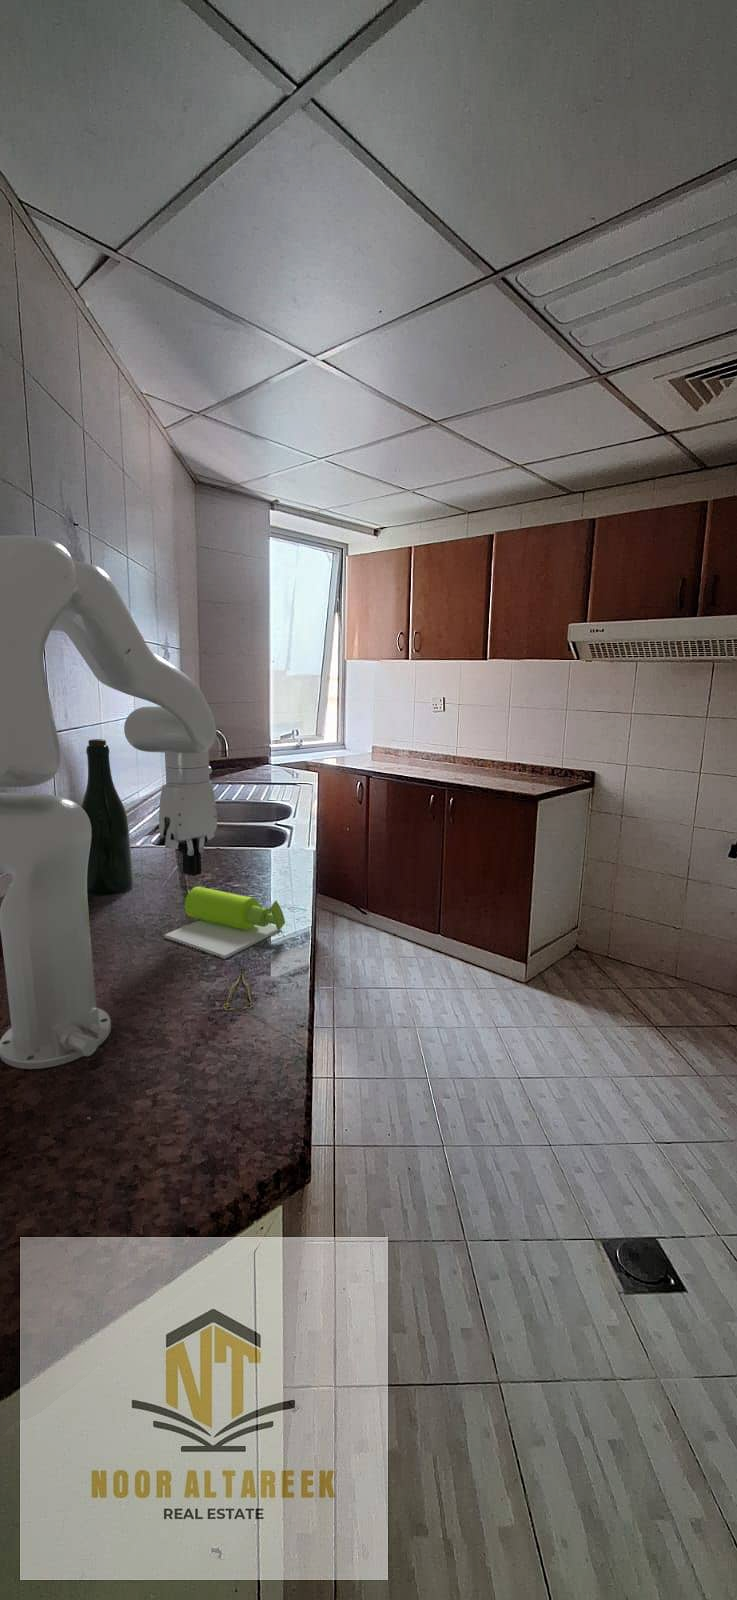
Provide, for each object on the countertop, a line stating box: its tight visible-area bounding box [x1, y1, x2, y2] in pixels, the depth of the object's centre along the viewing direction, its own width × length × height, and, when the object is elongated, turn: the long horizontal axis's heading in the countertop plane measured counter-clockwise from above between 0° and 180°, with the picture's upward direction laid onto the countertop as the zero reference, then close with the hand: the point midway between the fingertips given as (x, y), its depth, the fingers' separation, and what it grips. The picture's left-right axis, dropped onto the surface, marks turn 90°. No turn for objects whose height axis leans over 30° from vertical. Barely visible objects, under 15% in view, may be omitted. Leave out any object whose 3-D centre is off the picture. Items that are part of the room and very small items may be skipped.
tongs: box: [223, 967, 255, 1011], centre depth 89 cm, size 4×13×2 cm, turn 14°
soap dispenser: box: [184, 886, 286, 931], centre depth 109 cm, size 6×7×20 cm
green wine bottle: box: [80, 738, 134, 897], centre depth 127 cm, size 10×10×33 cm
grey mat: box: [164, 919, 282, 960], centre depth 108 cm, size 15×14×1 cm
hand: (192, 873), depth 110 cm, fingers closed
